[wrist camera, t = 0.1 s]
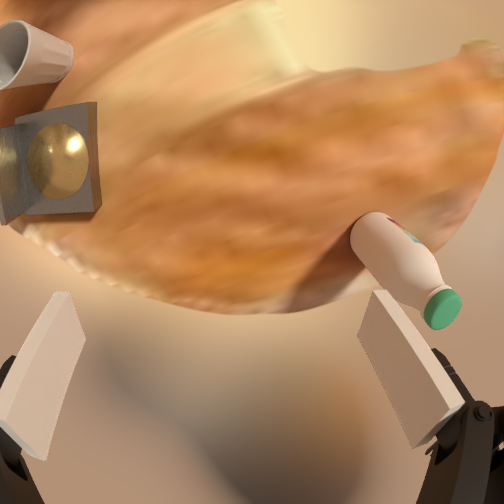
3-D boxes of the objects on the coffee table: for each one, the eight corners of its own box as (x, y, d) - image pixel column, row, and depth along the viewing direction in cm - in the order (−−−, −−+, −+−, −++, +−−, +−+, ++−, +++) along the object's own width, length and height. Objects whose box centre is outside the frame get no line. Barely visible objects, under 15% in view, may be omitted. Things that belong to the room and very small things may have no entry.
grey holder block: (26, 115, 29) (-13, 123, 21) (96, 101, 30) (64, 103, 22) (35, 210, 35) (3, 235, 27) (102, 207, 37) (75, 234, 29)
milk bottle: (349, 261, 45) (413, 351, 27) (346, 216, 41) (423, 297, 23) (391, 249, 45) (464, 327, 27) (391, 205, 41) (479, 274, 23)
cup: (68, 92, 29) (16, 93, 18) (26, 86, 27) (-28, 89, 16) (87, 37, 25) (41, 18, 15) (43, 34, 23) (-7, 21, 13)
